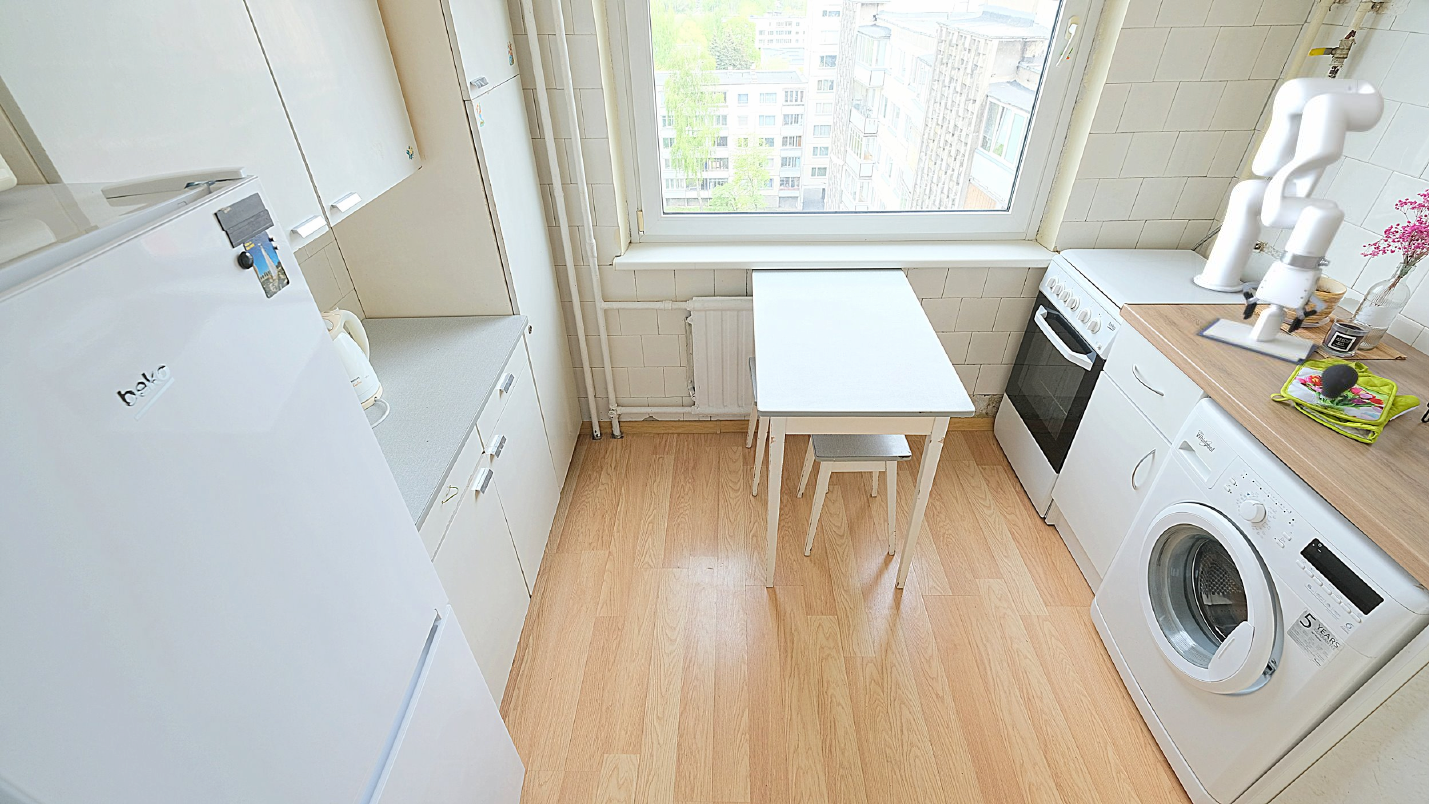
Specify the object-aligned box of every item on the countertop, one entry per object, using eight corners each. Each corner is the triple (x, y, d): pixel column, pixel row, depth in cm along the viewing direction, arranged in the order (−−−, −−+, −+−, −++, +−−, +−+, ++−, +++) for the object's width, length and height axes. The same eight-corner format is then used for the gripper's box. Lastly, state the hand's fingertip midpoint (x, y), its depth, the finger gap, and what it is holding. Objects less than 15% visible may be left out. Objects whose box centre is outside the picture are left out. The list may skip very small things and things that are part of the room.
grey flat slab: (1218, 319, 176) (1219, 315, 176) (1318, 346, 162) (1320, 342, 161) (1197, 334, 168) (1198, 331, 167) (1300, 365, 153) (1302, 361, 153)
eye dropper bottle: (1277, 344, 161) (1300, 300, 154) (1251, 340, 162) (1272, 296, 156) (1272, 337, 164) (1294, 293, 158) (1246, 333, 166) (1266, 290, 160)
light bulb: (1299, 399, 140) (1322, 359, 135) (1325, 399, 140) (1349, 359, 134) (1319, 413, 135) (1343, 371, 130) (1346, 413, 135) (1371, 372, 130)
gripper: (1352, 266, 148) (1316, 333, 157) (1265, 247, 160) (1236, 310, 169) (1339, 273, 144) (1303, 341, 153) (1252, 252, 157) (1223, 316, 166)
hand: (1268, 324), depth 161 cm, fingers open, 9 cm apart
